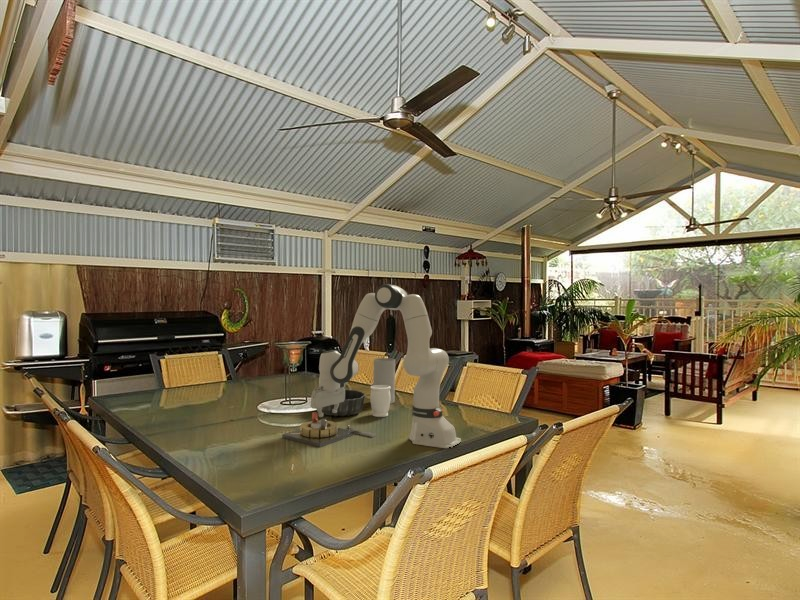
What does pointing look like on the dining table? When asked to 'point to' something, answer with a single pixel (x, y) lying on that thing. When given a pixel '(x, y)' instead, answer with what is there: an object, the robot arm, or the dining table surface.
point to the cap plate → (314, 440)
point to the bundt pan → (347, 404)
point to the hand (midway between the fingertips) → (328, 414)
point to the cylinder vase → (385, 374)
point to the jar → (380, 400)
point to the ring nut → (318, 432)
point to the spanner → (360, 432)
